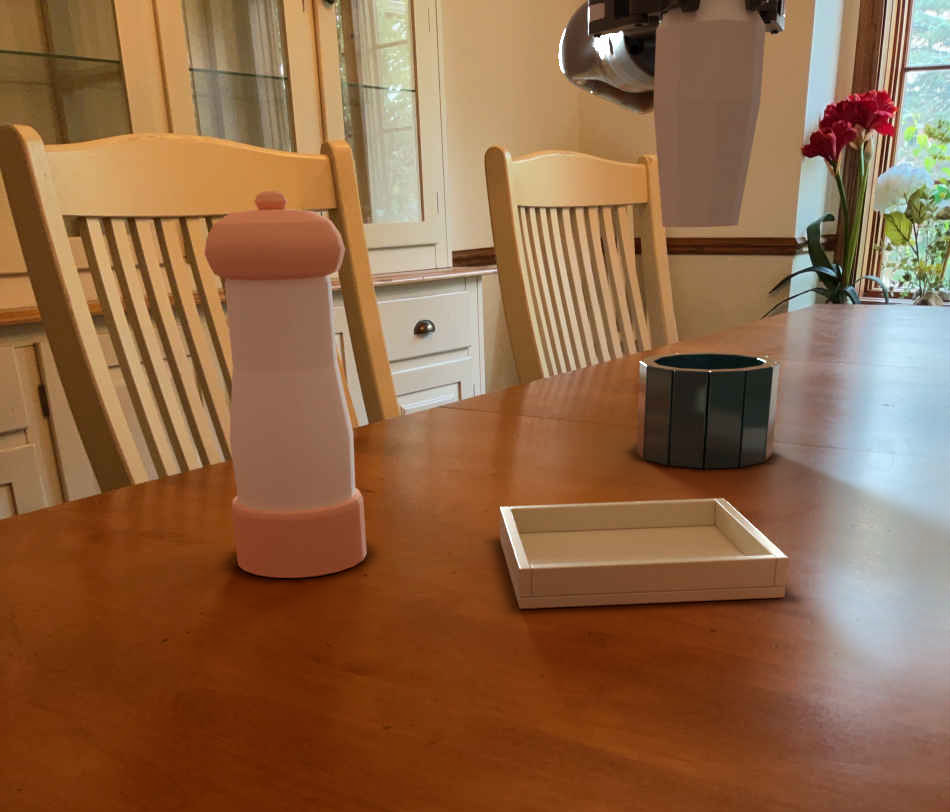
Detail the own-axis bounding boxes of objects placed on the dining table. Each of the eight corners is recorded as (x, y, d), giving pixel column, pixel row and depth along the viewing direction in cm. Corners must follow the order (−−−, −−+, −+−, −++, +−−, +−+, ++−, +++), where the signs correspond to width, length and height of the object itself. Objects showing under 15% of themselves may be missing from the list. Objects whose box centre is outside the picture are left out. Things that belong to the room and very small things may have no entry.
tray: (721, 532, 62) (723, 497, 61) (784, 597, 52) (788, 557, 51) (499, 541, 61) (499, 506, 60) (519, 609, 51) (519, 568, 50)
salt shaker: (214, 556, 60) (169, 193, 52) (322, 530, 64) (295, 191, 57) (279, 588, 54) (239, 190, 47) (392, 557, 59) (372, 188, 51)
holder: (747, 437, 86) (754, 350, 83) (788, 465, 77) (797, 368, 74) (626, 442, 85) (629, 354, 83) (653, 471, 76) (658, 373, 73)
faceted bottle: (631, 227, 68) (643, -186, 60) (687, 223, 72) (707, -163, 64) (714, 227, 64) (740, -217, 55) (769, 223, 68) (801, -191, 59)
